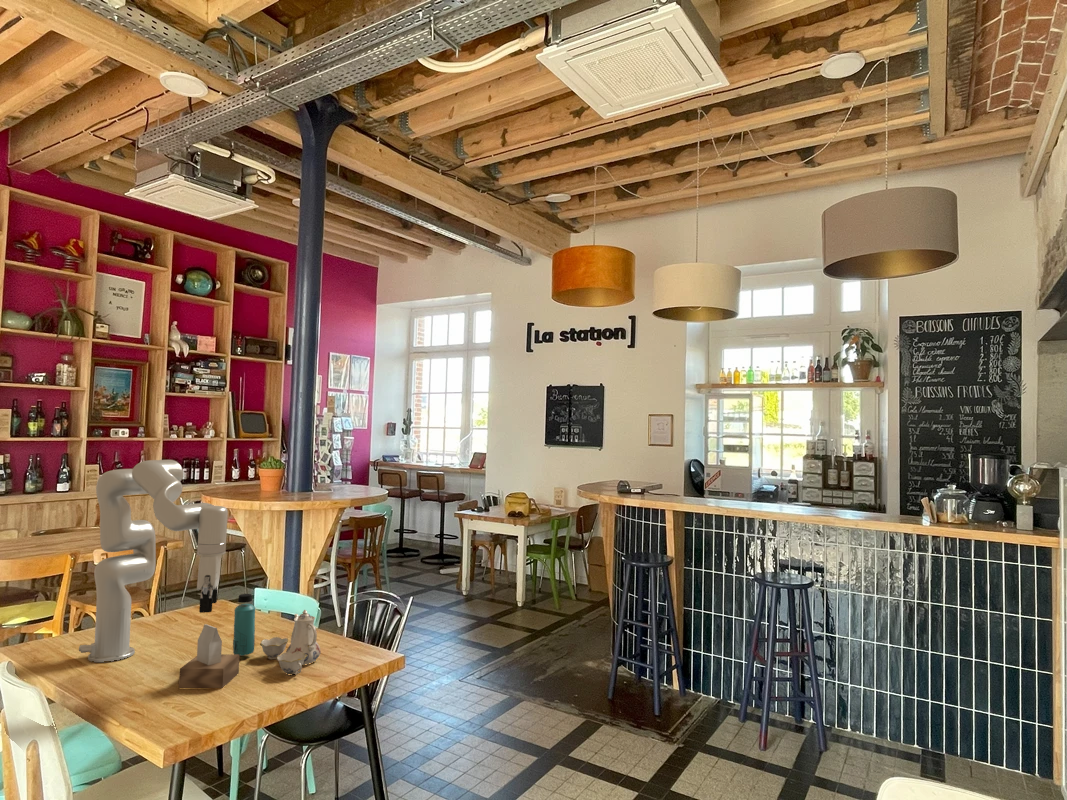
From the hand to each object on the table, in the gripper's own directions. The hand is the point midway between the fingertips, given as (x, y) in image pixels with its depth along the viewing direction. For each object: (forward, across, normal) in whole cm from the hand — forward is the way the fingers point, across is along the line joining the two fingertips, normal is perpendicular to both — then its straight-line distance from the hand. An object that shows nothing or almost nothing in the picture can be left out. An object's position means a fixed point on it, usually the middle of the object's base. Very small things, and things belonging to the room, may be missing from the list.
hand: (208, 607), depth 193 cm
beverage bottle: (+21, -18, +9) cm, 29 cm away
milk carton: (+16, +1, +1) cm, 16 cm away
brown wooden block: (+21, +1, +2) cm, 21 cm away
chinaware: (+21, -8, +24) cm, 33 cm away
